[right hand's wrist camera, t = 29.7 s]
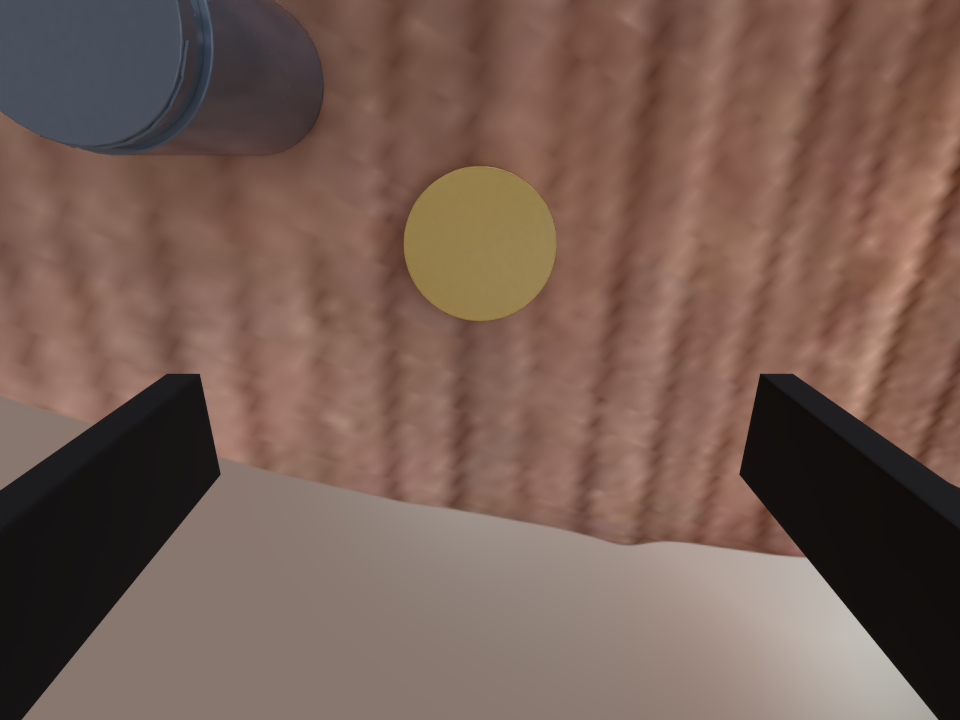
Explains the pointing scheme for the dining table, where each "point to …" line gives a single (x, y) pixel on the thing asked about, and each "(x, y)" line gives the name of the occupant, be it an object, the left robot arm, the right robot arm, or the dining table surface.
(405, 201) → the dining table surface
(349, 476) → the dining table surface
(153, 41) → the jar
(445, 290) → the lid
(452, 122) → the dining table surface
